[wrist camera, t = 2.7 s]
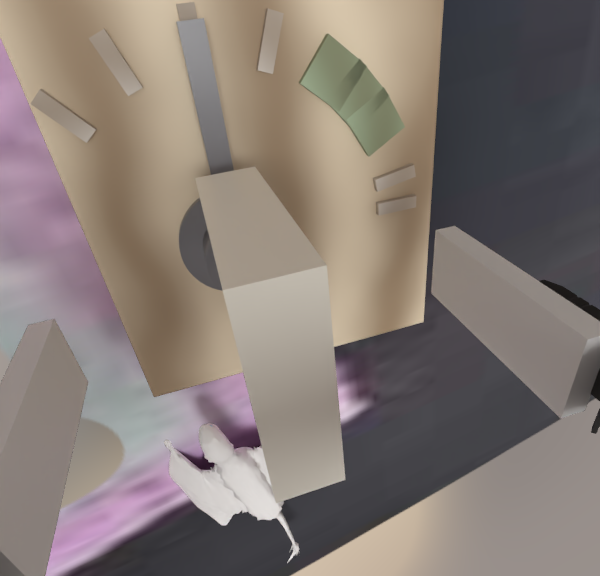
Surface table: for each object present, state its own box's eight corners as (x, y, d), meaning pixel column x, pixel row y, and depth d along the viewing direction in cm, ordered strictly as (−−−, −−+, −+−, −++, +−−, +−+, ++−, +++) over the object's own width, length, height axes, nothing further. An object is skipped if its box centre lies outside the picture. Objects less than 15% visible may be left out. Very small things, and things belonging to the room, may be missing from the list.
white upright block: (200, 318, 21) (229, 519, 12) (114, 29, 14) (44, 21, 6) (296, 294, 22) (387, 465, 13) (258, 11, 15) (389, -21, 6)
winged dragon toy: (342, 491, 37) (361, 537, 34) (237, 542, 37) (246, 594, 33) (271, 355, 27) (287, 402, 24) (124, 423, 27) (119, 481, 23)
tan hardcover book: (154, 366, 25) (153, 401, 22) (-61, -167, 13) (-110, -212, 10) (403, 300, 27) (425, 324, 25) (417, -187, 16) (463, -226, 13)
